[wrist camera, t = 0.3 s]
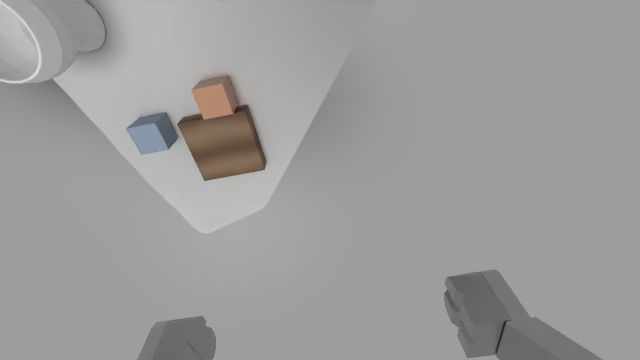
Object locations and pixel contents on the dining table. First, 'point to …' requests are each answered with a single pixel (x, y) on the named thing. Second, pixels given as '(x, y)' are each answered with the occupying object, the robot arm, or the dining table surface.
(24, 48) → the cup
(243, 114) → the pedestal
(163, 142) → the blue block
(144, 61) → the dining table surface
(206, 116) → the terracotta block
